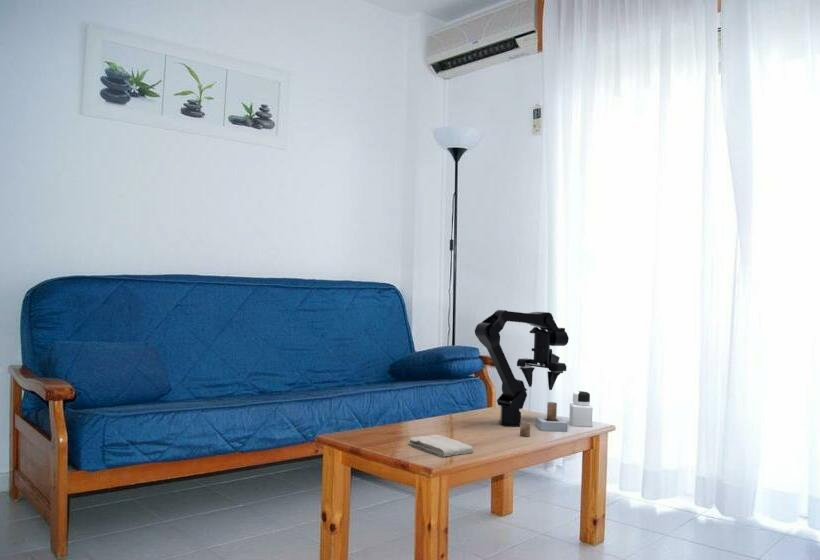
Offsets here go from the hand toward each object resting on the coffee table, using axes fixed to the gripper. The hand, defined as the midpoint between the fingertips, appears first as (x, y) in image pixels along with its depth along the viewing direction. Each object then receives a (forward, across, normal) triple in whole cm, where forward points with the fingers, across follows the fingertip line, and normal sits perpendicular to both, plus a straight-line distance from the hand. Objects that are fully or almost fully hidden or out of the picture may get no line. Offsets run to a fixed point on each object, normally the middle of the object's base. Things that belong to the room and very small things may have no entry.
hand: (540, 388), depth 237 cm
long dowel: (+12, -9, +5) cm, 16 cm away
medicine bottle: (+13, -10, -11) cm, 20 cm away
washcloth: (+13, -10, +60) cm, 62 cm away
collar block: (+12, -9, +5) cm, 16 cm away
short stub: (+13, -12, +23) cm, 29 cm away
